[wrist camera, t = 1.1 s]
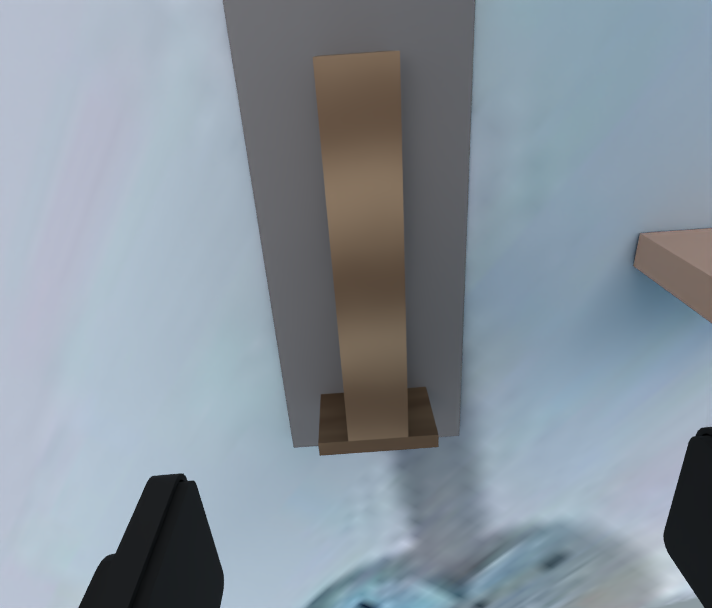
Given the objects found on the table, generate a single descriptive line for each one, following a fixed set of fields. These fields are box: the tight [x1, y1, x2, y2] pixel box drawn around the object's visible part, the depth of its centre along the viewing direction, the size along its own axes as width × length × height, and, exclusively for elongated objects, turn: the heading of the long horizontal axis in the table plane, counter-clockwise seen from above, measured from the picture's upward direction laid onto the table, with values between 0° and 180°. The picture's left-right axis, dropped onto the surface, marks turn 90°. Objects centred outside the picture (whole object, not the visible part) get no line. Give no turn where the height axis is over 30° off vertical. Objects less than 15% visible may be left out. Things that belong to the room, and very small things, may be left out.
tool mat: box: [223, 0, 475, 448], centre depth 25 cm, size 24×10×1 cm, turn 4°
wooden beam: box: [313, 51, 439, 456], centre depth 23 cm, size 18×6×4 cm, turn 4°
